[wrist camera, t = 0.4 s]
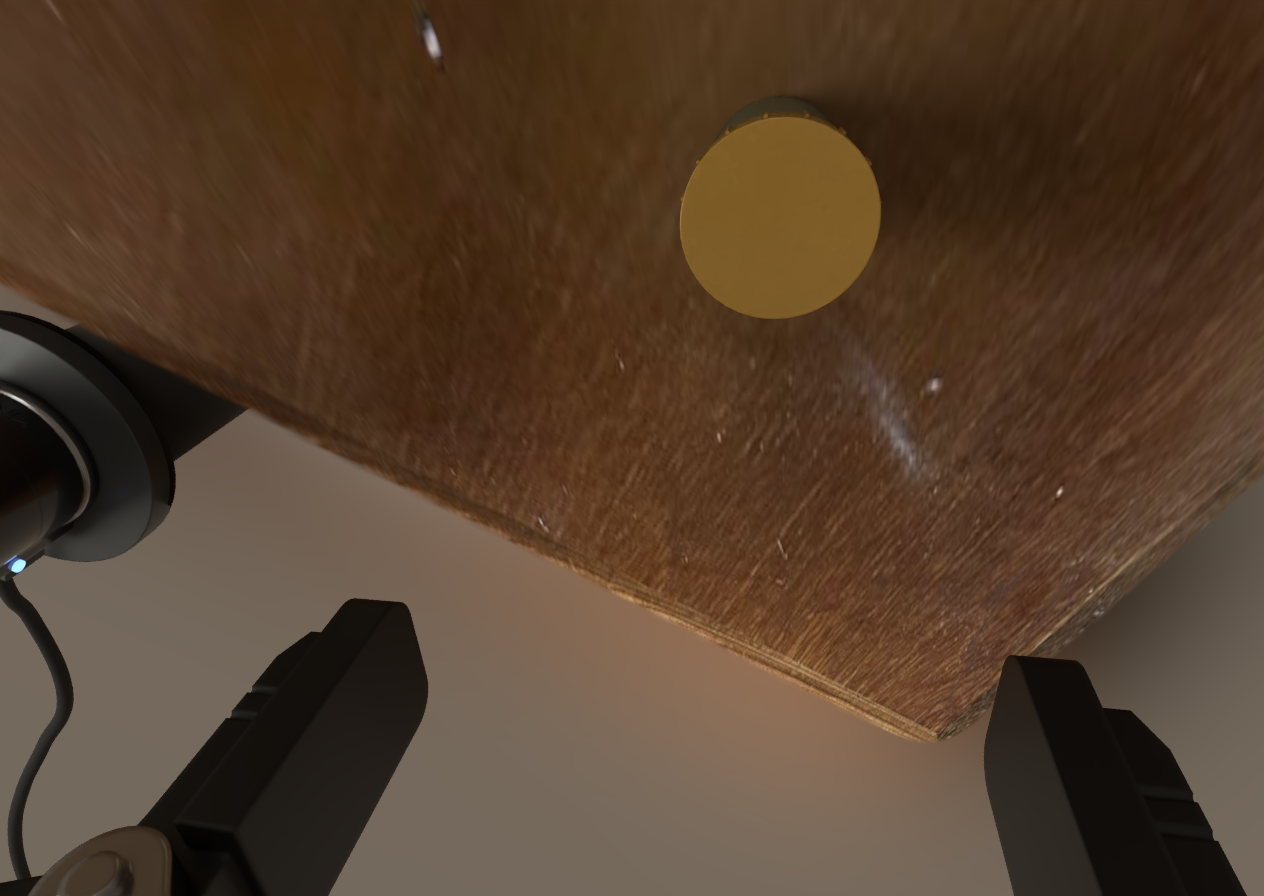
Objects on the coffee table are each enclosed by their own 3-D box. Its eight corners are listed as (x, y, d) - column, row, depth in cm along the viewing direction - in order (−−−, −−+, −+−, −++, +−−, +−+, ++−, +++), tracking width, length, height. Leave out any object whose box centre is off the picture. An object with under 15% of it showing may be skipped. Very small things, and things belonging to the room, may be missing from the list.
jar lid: (816, 331, 25) (819, 350, 24) (655, 259, 25) (648, 273, 23) (913, 160, 22) (923, 168, 21) (732, 76, 22) (730, 78, 20)
